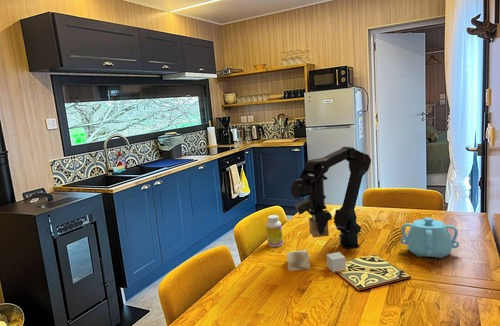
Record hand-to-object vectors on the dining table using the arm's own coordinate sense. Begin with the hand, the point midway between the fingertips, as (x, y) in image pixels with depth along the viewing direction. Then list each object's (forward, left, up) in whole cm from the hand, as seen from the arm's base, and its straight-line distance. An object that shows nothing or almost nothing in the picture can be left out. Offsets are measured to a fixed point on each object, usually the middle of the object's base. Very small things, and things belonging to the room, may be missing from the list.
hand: (319, 231), depth 144 cm
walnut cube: (0, 0, -1) cm, 1 cm away
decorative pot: (-40, +7, -11) cm, 42 cm away
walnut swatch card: (+8, -4, -11) cm, 14 cm away
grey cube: (-3, +11, -11) cm, 16 cm away
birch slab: (+10, +5, -11) cm, 16 cm away
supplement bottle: (+16, -18, -11) cm, 26 cm away
